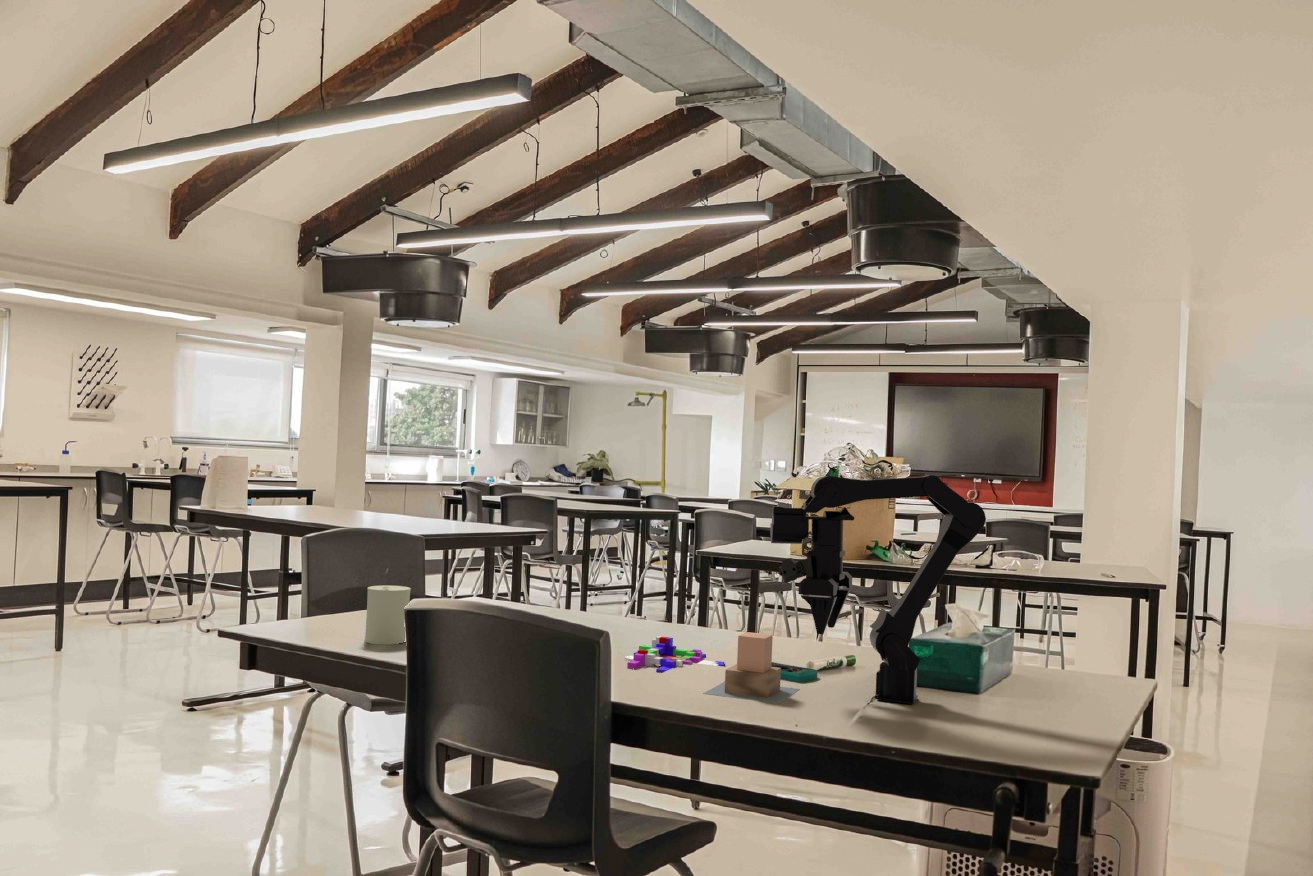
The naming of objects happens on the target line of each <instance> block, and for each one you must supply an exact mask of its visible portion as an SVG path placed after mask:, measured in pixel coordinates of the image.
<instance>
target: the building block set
mask: <svg viewBox="0 0 1313 876" xmlns="http://www.w3.org/2000/svg"><path fill="white" fill-rule="evenodd" d="M673 640H674V637H669V636H660V635H659V636H658V635H657V636H656V637H655V638H652V639H651V645H647V644H641V645H638V650H637V651H635V652H633V655H626V656H624V660H625V659H626V660H625V661H627V660H628V661H627V666H626V667H627V669H630V668H635V669H634V670H637V669H639V668H642V667H645V665H646V667H654V666H656V665H658V666H660V667H658V668H656V669H655V670H656V672H655V673H666V672H667V671H670V670H672V669H675V668H677V667H679V668H680V667H682V666H683V665H692V664H699V665H700V664H701V665H708V666H715V667H716V666H717V667H723V668H725V667H726V663H725V661H720V660H715V661H714V660H705V659H704V658H705V657H706V656H707V654H706V653H703V651H702V649H692V650H689V649H687V648H686V649H684V648H677V645H673V643H674V641H673ZM703 659H704V660H703ZM629 661H630V662H629ZM636 668H637V669H636Z"/></svg>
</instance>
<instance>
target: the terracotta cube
mask: <svg viewBox="0 0 1313 876" xmlns="http://www.w3.org/2000/svg"><path fill="white" fill-rule="evenodd" d="M773 638H774V637H773V634H767V633H766V634H765V633H757V632H743V633H741V634H739V635H738V637H737V657H736V664H737V670H745V671H754V672H762V673H764V672H766V671H767V670H769V669H771V663H772V662H773V661H772V659H773V658H772V657H773Z"/></svg>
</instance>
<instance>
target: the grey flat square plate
mask: <svg viewBox="0 0 1313 876" xmlns="http://www.w3.org/2000/svg"><path fill="white" fill-rule="evenodd" d="M800 690H801V688H793V687H786V686H780V690H779V691H778V692H776V693H775V694H773V695H772V696H770V697H769V698H764V697H756V696H748V695H740V694H732V693H725V681H722V683H720V684H717V685H715V686H714V687H712V688H711V689H709V690H707V691H705V692H703V693H702V695H709V696H715V697H723V698H725V697H727V698H734V699H740V700H747V701H748V700H749V701H757V702H763V703H772V704H782V703H784V702H785V701H786V700H788V699H789V698H790V697H792V696H794V695H795V694H796V693H797V692H798V691H800Z"/></svg>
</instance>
